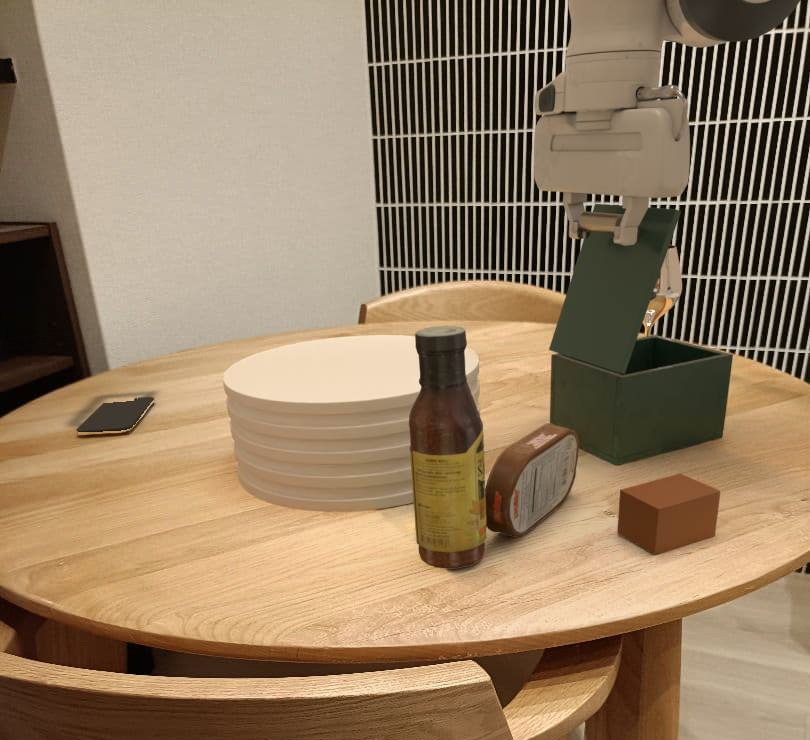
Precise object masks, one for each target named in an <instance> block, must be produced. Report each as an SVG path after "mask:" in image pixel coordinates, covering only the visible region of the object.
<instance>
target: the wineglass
mask: <svg viewBox="0 0 810 740" xmlns="http://www.w3.org/2000/svg"><path fill="white" fill-rule="evenodd" d="M677 248H678V247H677V246H676V245H674V244H670V245H669V248H668V251H667V254H666V257H665V260H664V262H663V265H662V268H661V271H660V274H659V277H658V280H657V283H656V285H655V288H654V291H653V294H652V297H651V300H650V303H649V306H648V309H647V311H646V314H645V317H644V320H643V323H642V325H643V326H644V337H647V336H652V327H653V326H654V324H655V323H656V322H657V321H658V320H659V319H660V318H662V317H663V316H665V314H667V313H668V312H669V311H670V310H671V309H673V308H674V306H675V305H676V303H677V302H678V301H679V299H680V297H681V295H682V292H683V279H682V271H681V265H680V259H679V254H678V249H677Z"/></svg>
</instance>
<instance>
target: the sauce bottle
mask: <svg viewBox="0 0 810 740" xmlns="http://www.w3.org/2000/svg"><path fill="white" fill-rule="evenodd" d="M466 332H467V331H466V329H465V328H464V327H461V326H454V325H437V326H429V327H424V328H422V329H419V330H416V331H415V334H414V336H415V343H416V350H417V353H418V355H419V368H420V379H419V384H420V385H421V390H420V393H419V395H418V397H417V399H416V400H415V403H414V404H413V407H412V409H411V411H410V415H409V428H410V443H411V445H410V461H411V475H412V488H413V501H414V502H413V511H414V512H413V513H414V525H415V540H416V541H415V542H416V544H417V545H418V554H419V558H420V559H421V561H422V562H424V563H425V564H426V565H427V566H428V565H429V566H431V567H434V568H437V569H446V570H454V569H460V568H461V569H462V568H467V567H471V566H473V565H475V564H477V563H478V562H480V561H481V560H482V559H483V558H484V555H485V551H486V540H487V535H488V533H487V530H488V528H487V526H486V498H485V493H486V492H485V488H486V463H485V462H486V461H485V443H484V442H485V441H484V436H485V435H484V423H483V420H482V418H481V414H480V415H479V412H478V410H477V407H476V404H475V402H474V399H473V396H472V394H471V391H470V388H469V386H468V383H467V377H466V373H465V354H464V352H465V349H466V347H468V346H467V345H468V342H467V341H468V340H467V333H466Z"/></svg>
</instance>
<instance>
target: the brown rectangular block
mask: <svg viewBox="0 0 810 740" xmlns="http://www.w3.org/2000/svg"><path fill="white" fill-rule="evenodd" d="M720 499H721V490H719V489H717V488H715V487H713V486H711V485H708V484H706V483H704V482H701V481H699V480H697V479H694V478H692V477H689V476H688V475H685V474H683V473H677V474H673V475H668V476H665V477H662V478H658V479H655V480H651V481H646V482H643V483H640V484H636V485H632V486H628V487H625V488H622V489H620V490H619V500H618V501H619V502H618V516H617V517H618V518H617V531H616V533H617V535H619V536H620V537H623V538H624V539H626V540H628V541H630V542H631V543H633V544H634V545H636V546H638V547H640V548H642V549H643V550H644V551H645V550H646V551H647V552H649V553H651V554H652V555H654V556H655V555H658V554H662V553H664V552H668V551H671V550H674V549H677V548H681V547H684V546H686V545H690V544H694V543H696V542H699V541H703V540H706V539H709V538H712V537H715V536H716V530H717V523H718V514H719V507H720Z"/></svg>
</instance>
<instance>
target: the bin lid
mask: <svg viewBox="0 0 810 740" xmlns="http://www.w3.org/2000/svg"><path fill="white" fill-rule="evenodd" d="M625 211H626V208H623V207H622V204H607V203H606V204H605V203H595V204H594V205H593V209H592V211H585V212H584V213H582V214H581V215H580V217H579V226H580V228H581V229H583V230H590V231H591V233H590V236H589V238H586V239H582V240H583V241H582V244H581V247H580V250H579V254H578V257H577V259H576V263H575V266H574V269H573V272H572V275H571V279H570V282H569V284H568V289H567V291H566V294H565V297H564V301H563V304H562V307H561V310H560V313H559V316H558V320H557V323H556V326H555V329H554V332H553V336H552V339H551V342H550V345H549V347H548V351H550V352H553V353H555V354H558V353H560V354H563V355H566V356H569V357H572V358H575V359H578V360H581V361H584V362H587V363H590V364H593V365H597V366H600V367H603V368H606V369H609V370H612V371H615V372H618V373H622V374H625V372H626V369H627V366H628V363H629V360H630V357H631V355H632V352H633V349H634V346H635V343H636V340H637V338H639V334H640V331H641V329H642V326H643V320H644V317H645V314H646V311H647V309H648V306H649V303H650V300H651V297H652V294H653V291H654V288H655V285H656V283H657V280H658V277H659V274H660V271H661V268H662V265H663V262H664V260H665V257H666V254H667V251H668V248H669V245H671V241H672V239H673V237H674V234H675V230H676V227H677V226H678V225H677V224H678V222H679V219H680V216H681V213H682V211H681V210H679V209H677V208H663V207H649V206H648V209H647V211H646V213H645V215H644V217H643V219H642V221H641V222H640V224H639V226H638V232H637V241H636V243H635V244H634V245H627V246H624V245H617V244H615V243H614V241H613V240H614V236H615V235H614V226H620V224H621V221H622V219H623V216H624V214H625Z"/></svg>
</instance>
